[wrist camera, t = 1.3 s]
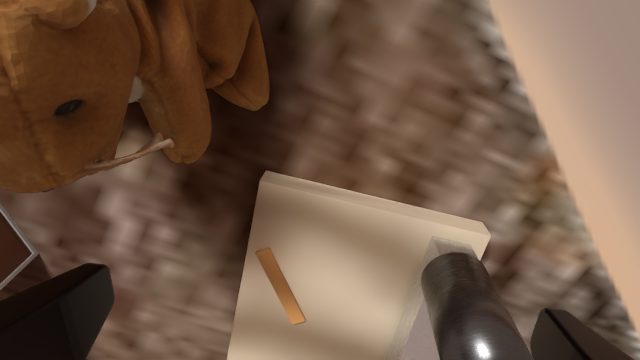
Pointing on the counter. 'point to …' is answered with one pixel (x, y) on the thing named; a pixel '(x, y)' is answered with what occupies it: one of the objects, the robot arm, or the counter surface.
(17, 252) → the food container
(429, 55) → the counter surface
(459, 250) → the lever
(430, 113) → the counter surface
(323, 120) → the counter surface
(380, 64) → the counter surface
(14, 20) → the stuffed squirrel
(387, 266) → the base board
